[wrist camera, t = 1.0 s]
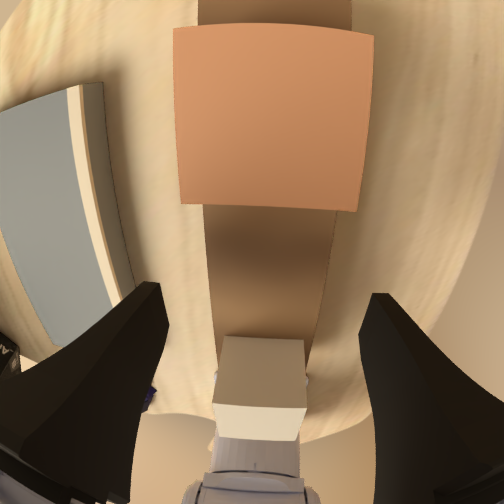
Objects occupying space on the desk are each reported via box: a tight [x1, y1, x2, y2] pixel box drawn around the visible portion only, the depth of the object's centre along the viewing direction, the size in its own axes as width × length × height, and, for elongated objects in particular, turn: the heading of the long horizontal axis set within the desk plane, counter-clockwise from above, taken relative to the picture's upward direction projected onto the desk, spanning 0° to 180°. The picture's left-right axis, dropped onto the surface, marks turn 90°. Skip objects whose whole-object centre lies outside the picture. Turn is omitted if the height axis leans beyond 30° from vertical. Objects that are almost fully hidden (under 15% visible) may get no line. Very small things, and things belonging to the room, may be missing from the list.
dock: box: [0, 82, 136, 347], centre depth 17 cm, size 20×10×2 cm, turn 179°
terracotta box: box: [173, 23, 374, 212], centre depth 7 cm, size 4×4×4 cm
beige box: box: [212, 336, 307, 441], centre depth 14 cm, size 4×4×4 cm
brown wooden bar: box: [198, 0, 351, 371], centre depth 14 cm, size 22×5×5 cm, turn 179°
